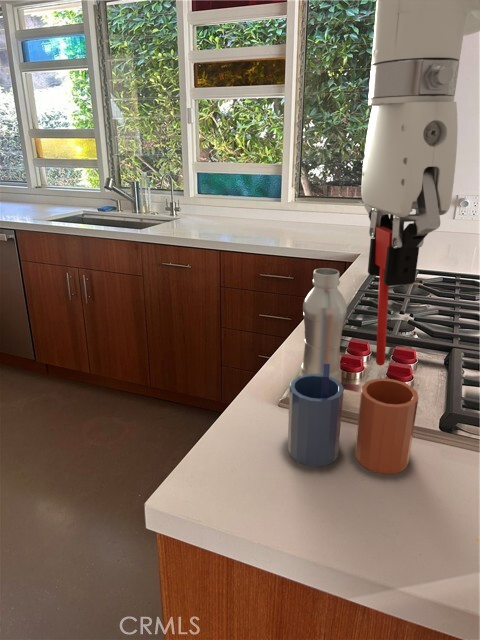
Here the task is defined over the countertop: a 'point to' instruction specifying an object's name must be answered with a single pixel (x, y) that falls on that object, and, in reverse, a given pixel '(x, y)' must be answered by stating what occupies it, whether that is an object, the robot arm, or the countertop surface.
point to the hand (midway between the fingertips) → (390, 277)
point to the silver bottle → (323, 324)
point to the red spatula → (382, 290)
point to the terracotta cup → (385, 425)
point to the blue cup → (314, 420)
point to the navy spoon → (325, 381)
